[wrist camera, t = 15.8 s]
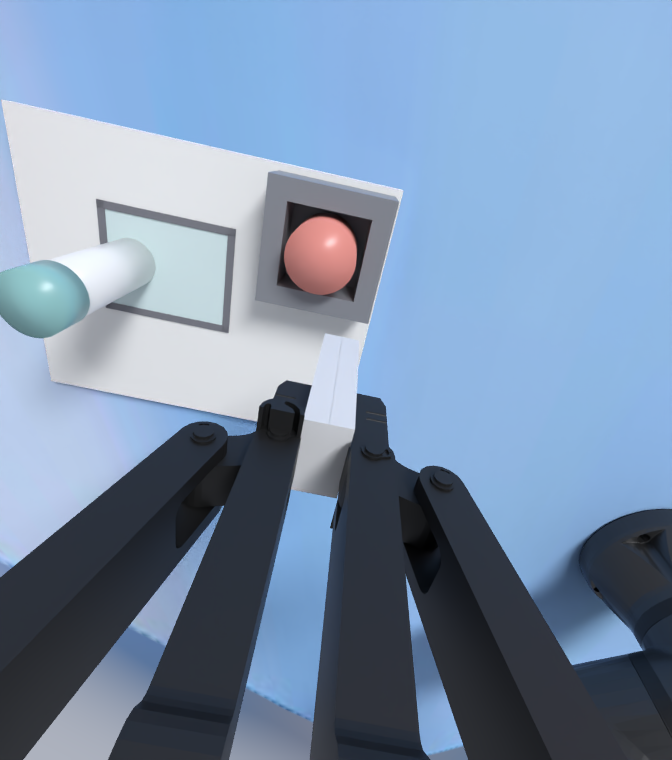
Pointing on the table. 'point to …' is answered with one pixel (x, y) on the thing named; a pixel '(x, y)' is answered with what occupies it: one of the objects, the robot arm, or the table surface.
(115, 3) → the table surface
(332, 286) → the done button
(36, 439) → the table surface
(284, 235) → the button housing
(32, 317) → the marker
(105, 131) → the sheet
